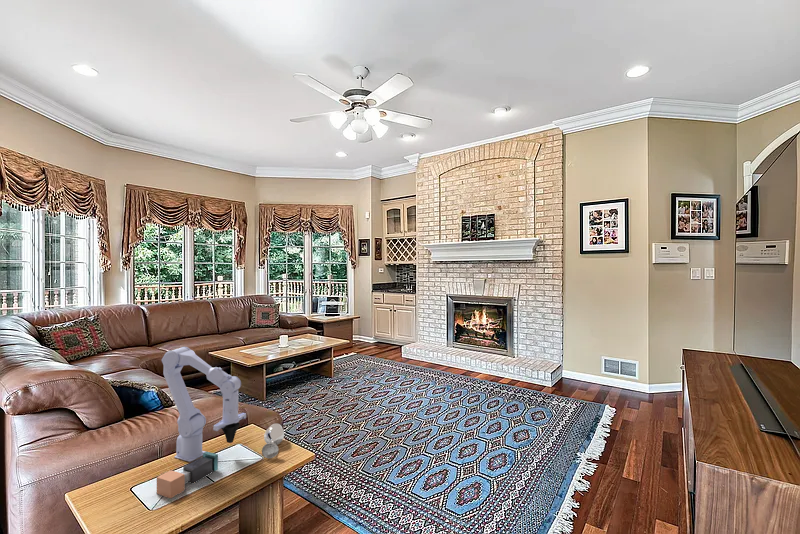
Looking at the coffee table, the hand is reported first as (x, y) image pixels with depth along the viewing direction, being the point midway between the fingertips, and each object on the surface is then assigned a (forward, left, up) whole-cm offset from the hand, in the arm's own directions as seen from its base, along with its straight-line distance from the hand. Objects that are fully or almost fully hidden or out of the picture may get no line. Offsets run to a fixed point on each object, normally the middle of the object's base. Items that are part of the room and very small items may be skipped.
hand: (230, 442), depth 153 cm
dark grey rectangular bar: (+1, -15, -6) cm, 17 cm away
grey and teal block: (+1, -18, -6) cm, 19 cm away
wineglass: (+16, +5, -3) cm, 17 cm away
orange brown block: (+1, -26, -6) cm, 27 cm away
